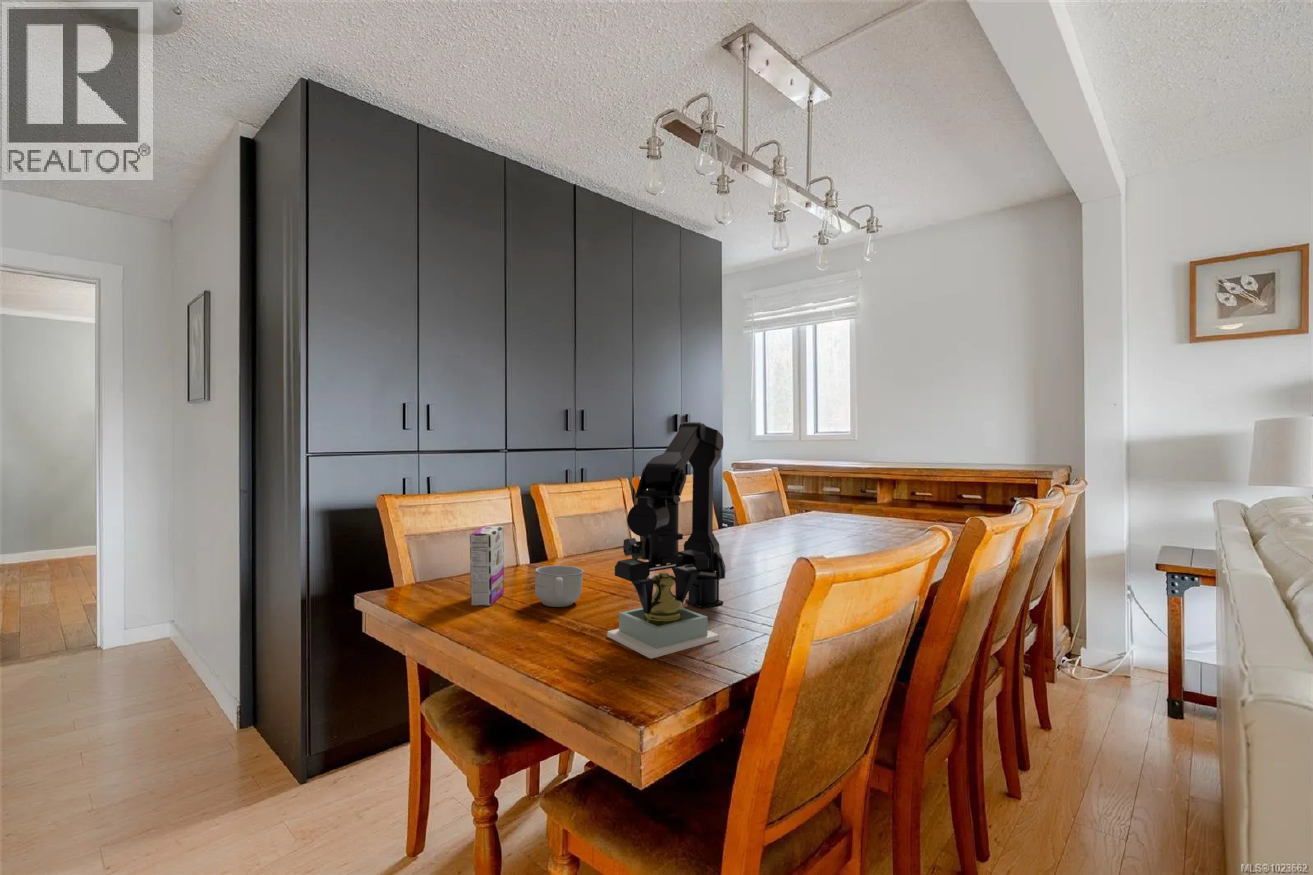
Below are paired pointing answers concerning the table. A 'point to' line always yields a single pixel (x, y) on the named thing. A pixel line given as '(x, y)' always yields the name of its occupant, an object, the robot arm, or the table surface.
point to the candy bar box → (486, 565)
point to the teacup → (558, 585)
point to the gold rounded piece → (664, 602)
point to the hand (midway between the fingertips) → (663, 609)
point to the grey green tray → (661, 633)
